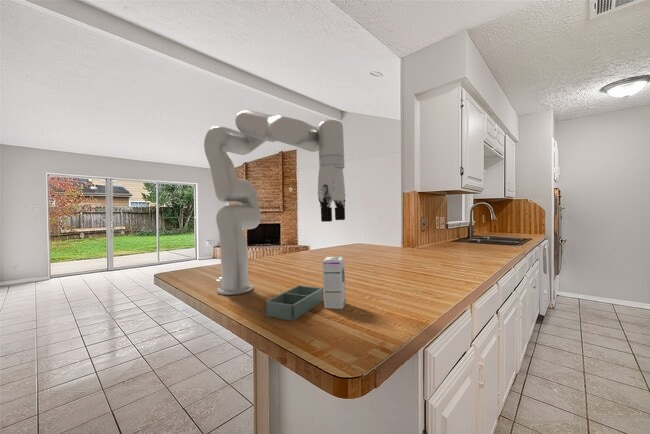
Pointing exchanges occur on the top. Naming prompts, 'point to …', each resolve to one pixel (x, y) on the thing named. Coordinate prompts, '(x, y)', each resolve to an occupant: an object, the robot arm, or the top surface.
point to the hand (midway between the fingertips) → (333, 220)
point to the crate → (293, 302)
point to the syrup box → (334, 282)
